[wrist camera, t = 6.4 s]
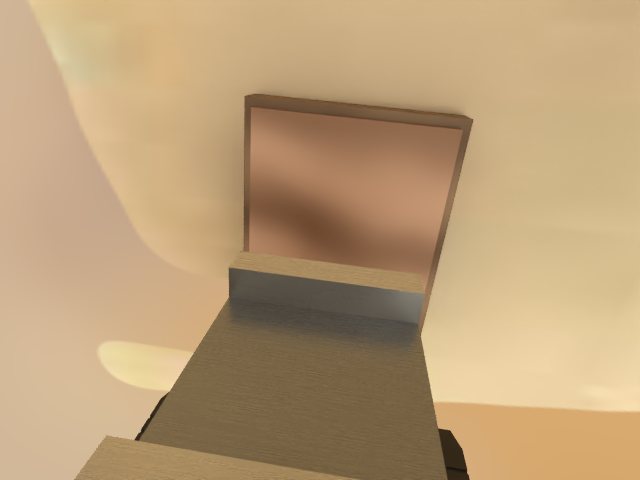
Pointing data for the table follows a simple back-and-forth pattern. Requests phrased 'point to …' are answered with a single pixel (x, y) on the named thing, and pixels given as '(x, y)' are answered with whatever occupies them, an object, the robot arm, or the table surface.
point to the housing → (295, 384)
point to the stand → (351, 183)
